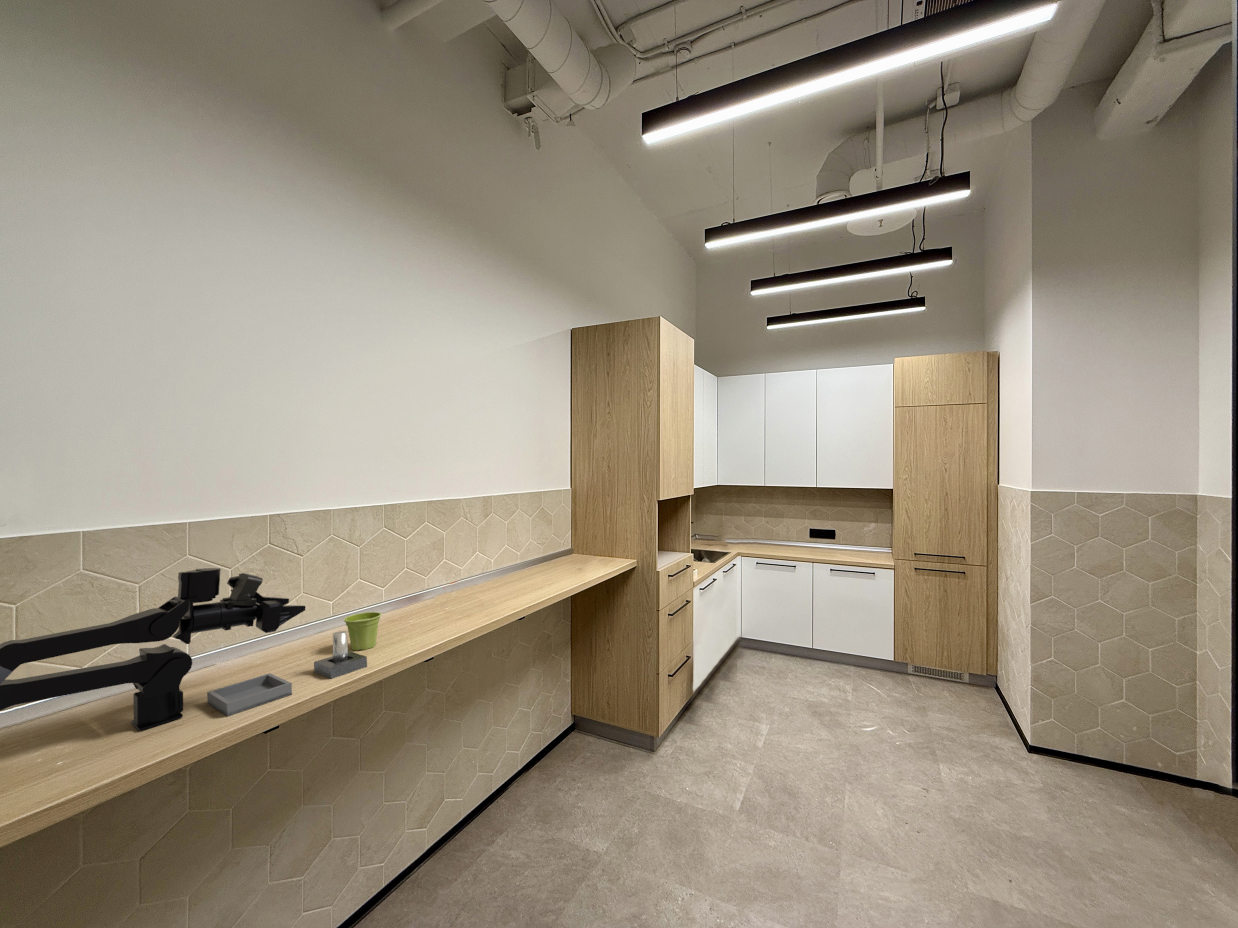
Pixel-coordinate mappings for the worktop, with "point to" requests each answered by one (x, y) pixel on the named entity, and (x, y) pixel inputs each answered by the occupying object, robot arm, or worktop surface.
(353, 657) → the pin holder
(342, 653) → the pin
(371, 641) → the plant pot
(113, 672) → the robot arm
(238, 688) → the parts tray
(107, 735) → the worktop surface
